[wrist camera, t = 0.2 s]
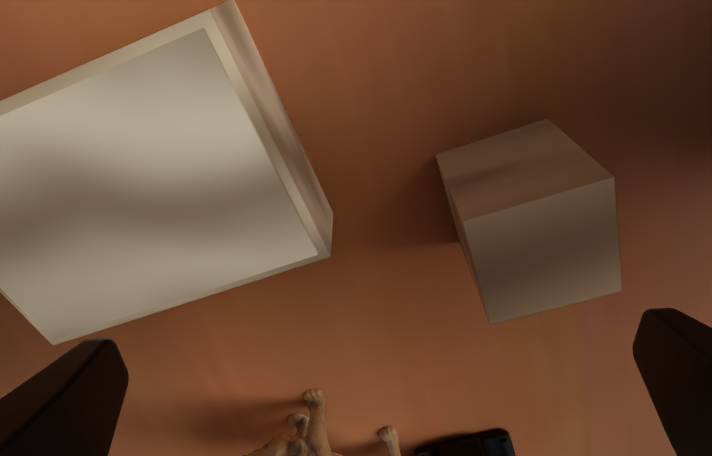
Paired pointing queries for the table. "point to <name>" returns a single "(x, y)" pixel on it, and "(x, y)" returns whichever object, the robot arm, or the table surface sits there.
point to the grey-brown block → (533, 220)
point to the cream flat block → (152, 181)
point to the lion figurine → (315, 433)
